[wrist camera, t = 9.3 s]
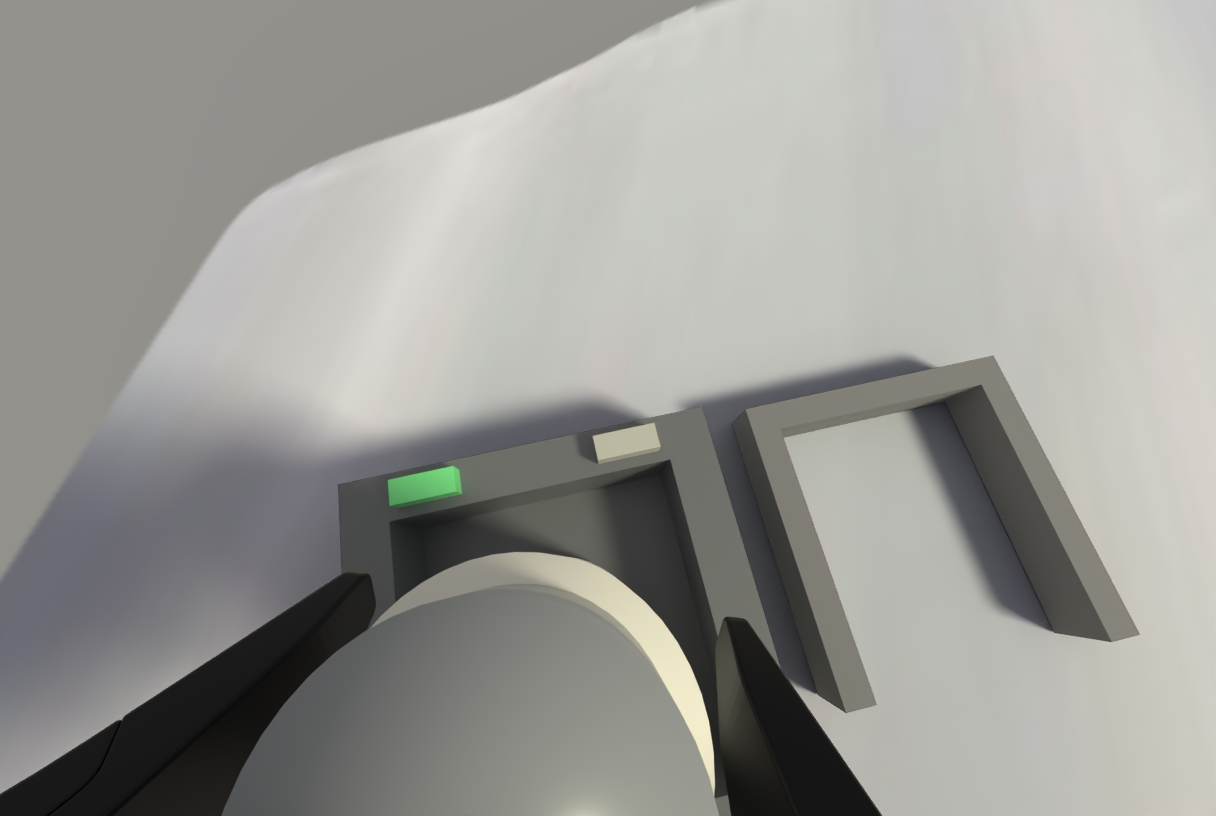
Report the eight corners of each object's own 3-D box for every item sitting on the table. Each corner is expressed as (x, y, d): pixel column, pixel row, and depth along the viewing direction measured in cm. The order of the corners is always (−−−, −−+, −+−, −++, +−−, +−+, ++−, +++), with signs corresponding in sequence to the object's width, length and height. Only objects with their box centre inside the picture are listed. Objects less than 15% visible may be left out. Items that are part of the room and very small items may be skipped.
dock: (782, 777, 15) (844, 854, 11) (417, 877, 15) (345, 998, 11) (684, 434, 19) (705, 400, 15) (388, 498, 18) (327, 481, 14)
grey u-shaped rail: (1079, 625, 17) (1140, 634, 15) (817, 695, 16) (846, 713, 14) (956, 375, 20) (993, 355, 18) (731, 424, 19) (745, 409, 17)
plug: (663, 654, 16) (909, 990, 3) (540, 745, 15) (274, 1648, 3) (589, 531, 17) (573, 452, 5) (471, 607, 16) (61, 764, 4)
